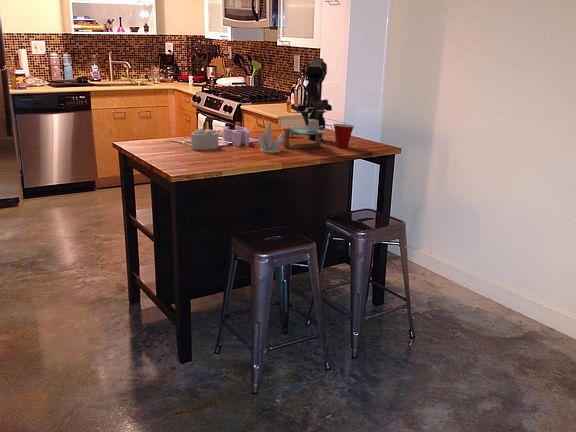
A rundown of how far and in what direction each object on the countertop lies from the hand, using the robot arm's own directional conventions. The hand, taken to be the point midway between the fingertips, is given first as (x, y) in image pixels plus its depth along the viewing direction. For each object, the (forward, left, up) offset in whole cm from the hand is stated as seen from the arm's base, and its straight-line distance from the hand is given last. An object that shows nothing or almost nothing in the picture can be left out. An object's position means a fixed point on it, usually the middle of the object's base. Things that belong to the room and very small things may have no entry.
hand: (311, 125), depth 272 cm
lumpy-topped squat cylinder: (+49, -19, -13) cm, 54 cm away
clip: (+28, -28, -13) cm, 42 cm away
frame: (0, -8, -12) cm, 15 cm away
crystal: (+19, -4, -13) cm, 23 cm away
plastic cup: (-20, -2, -13) cm, 24 cm away
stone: (0, 0, -2) cm, 2 cm away
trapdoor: (0, -5, -6) cm, 8 cm away
